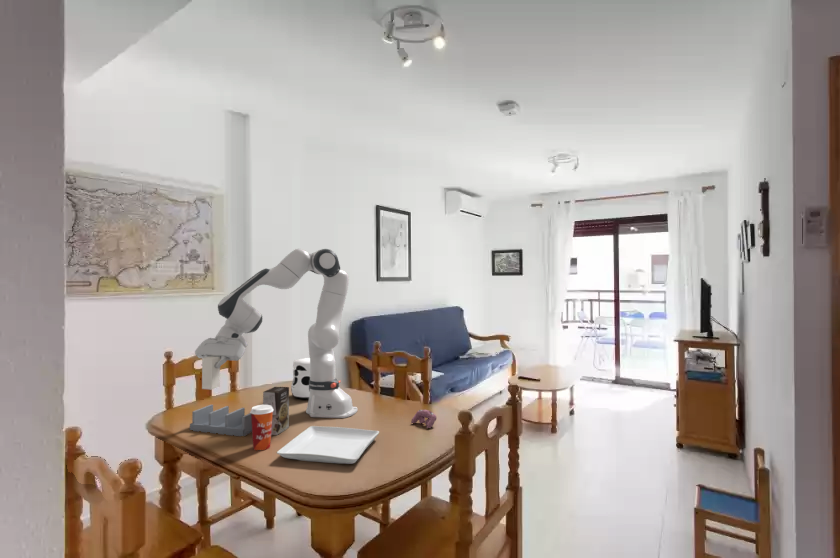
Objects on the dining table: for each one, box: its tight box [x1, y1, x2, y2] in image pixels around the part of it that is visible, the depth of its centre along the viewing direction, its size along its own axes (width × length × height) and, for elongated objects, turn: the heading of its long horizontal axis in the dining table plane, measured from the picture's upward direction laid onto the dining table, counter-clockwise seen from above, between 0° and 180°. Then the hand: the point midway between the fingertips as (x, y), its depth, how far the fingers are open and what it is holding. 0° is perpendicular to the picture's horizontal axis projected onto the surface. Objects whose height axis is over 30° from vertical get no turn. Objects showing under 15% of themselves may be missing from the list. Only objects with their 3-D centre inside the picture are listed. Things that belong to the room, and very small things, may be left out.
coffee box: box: [262, 386, 290, 436], centre depth 170 cm, size 9×6×16 cm
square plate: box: [276, 425, 380, 465], centre depth 152 cm, size 27×27×4 cm
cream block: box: [201, 356, 221, 391], centre depth 174 cm, size 4×4×12 cm
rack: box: [189, 404, 252, 437], centre depth 172 cm, size 24×12×7 cm, turn 75°
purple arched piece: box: [410, 409, 437, 429], centre depth 178 cm, size 10×5×7 cm, turn 48°
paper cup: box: [249, 404, 274, 451], centre depth 153 cm, size 8×8×14 cm
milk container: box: [290, 357, 310, 400], centre depth 220 cm, size 17×17×18 cm
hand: (210, 367), depth 174 cm, fingers closed on cream block, 4 cm apart
